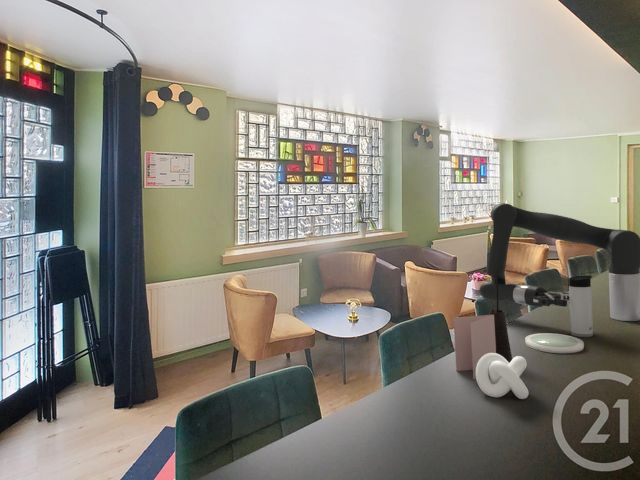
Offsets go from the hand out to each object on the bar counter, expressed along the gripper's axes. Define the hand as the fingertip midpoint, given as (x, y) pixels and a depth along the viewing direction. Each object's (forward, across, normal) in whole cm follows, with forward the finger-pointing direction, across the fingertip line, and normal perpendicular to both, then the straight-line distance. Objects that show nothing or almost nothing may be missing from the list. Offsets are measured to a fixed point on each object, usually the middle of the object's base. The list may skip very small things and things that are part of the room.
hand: (574, 301), depth 136 cm
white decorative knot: (+17, -58, +11) cm, 61 cm away
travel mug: (+2, 0, +11) cm, 11 cm away
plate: (+3, -16, +11) cm, 20 cm away
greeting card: (+4, -52, +11) cm, 53 cm away
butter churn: (0, -39, +11) cm, 40 cm away
